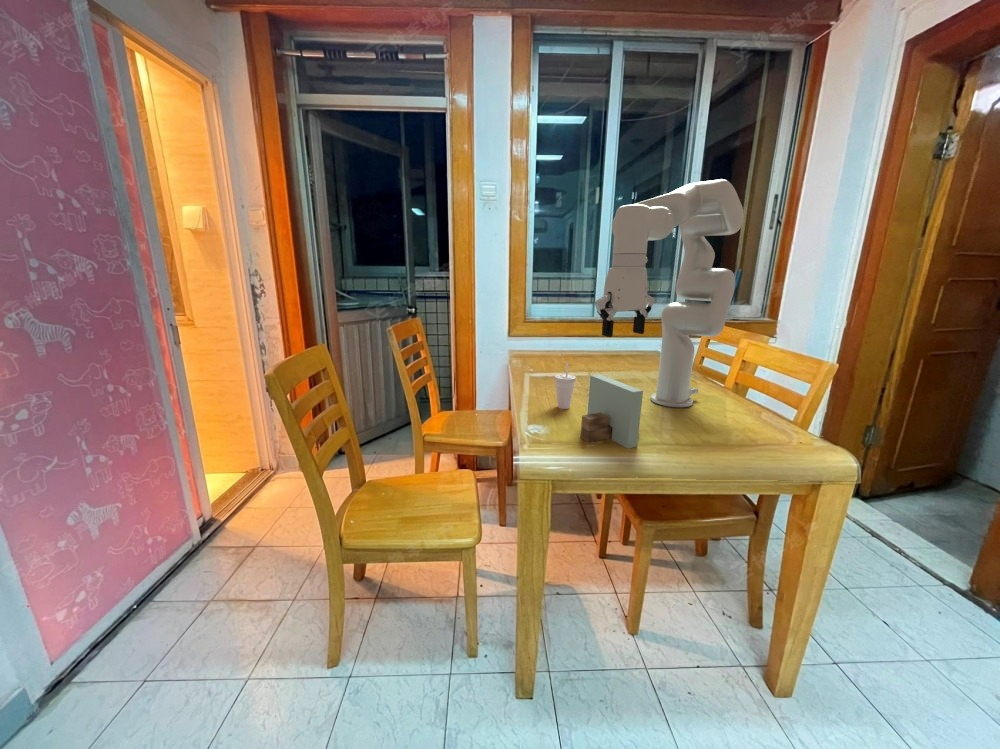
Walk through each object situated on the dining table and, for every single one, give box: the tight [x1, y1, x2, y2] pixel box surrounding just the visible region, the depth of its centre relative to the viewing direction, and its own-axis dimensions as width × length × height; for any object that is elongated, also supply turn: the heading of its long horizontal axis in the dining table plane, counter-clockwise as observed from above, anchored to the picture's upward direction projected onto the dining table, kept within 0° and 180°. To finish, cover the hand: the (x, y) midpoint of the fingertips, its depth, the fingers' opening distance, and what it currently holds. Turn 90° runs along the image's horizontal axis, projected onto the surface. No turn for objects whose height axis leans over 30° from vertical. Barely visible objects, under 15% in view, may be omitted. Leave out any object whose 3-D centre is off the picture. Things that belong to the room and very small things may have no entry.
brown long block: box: [580, 412, 613, 443], centre depth 102 cm, size 16×3×6 cm, turn 114°
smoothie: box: [554, 362, 577, 410], centre depth 122 cm, size 6×6×14 cm
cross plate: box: [586, 373, 644, 449], centre depth 101 cm, size 16×3×14 cm, turn 24°
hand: (622, 334), depth 99 cm, fingers open, 9 cm apart
